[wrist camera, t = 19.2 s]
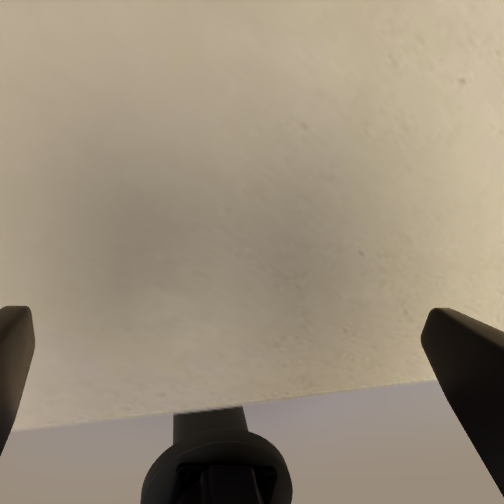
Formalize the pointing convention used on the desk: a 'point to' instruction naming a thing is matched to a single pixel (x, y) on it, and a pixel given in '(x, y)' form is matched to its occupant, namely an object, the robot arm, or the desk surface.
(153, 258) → the desk surface
